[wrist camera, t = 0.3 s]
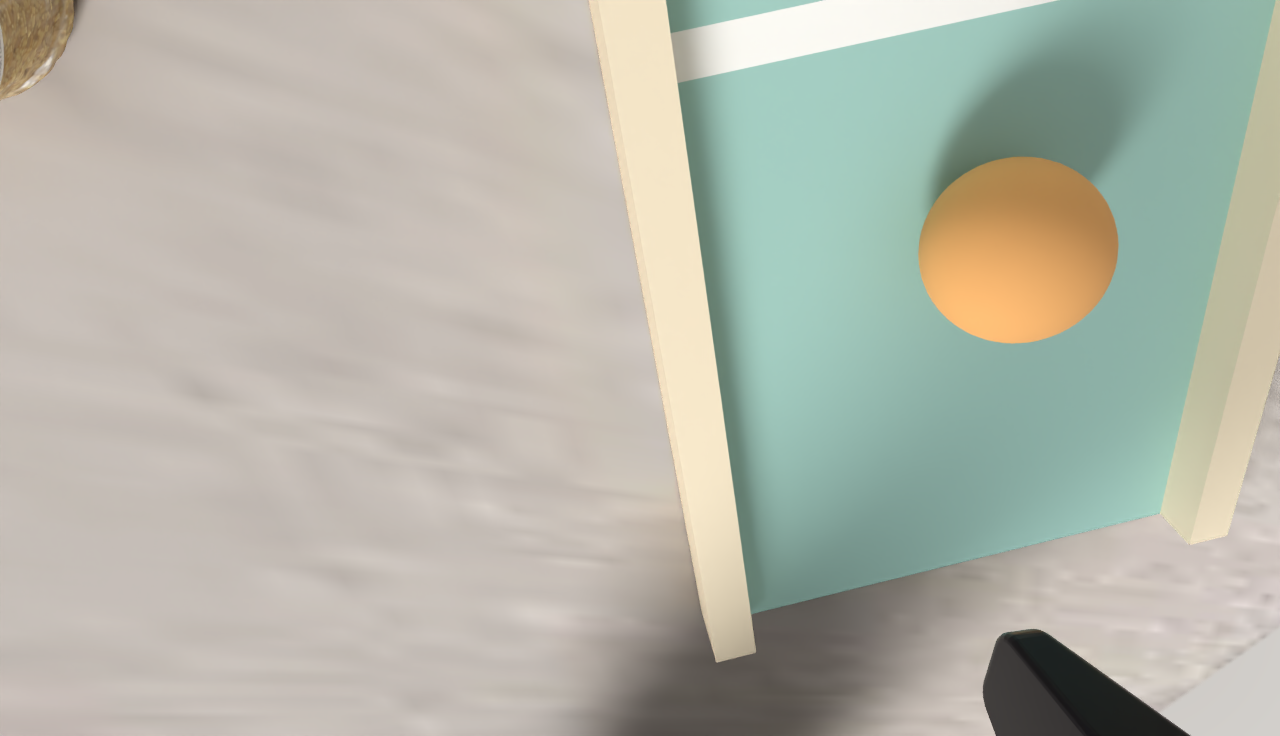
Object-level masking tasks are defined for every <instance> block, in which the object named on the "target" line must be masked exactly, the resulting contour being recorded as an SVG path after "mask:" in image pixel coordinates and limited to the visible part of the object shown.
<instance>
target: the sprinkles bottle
mask: <svg viewBox="0 0 1280 736" xmlns="http://www.w3.org/2000/svg"><path fill="white" fill-rule="evenodd" d="M73 19H74V8H73V0H0V100H2V99H5V98H8V97H11V96H15V95H18V94H20V93H22V92H24V91H25V90H27V89H29V88H31V87H32V86H33V85H35V84H36V83H37V82H39V81H40V80H41V79H43V78H44V77H45V76H46V75H47V74H48V73H49V72H50V71H51V70H52V68H53V67H54V65H55V62H56V61H57V60H58V59H59V58H60V57H61V55H62V54H63V52H64V50H65V47H66V43H67V39H68V37H69V35H70V33H71V31H72V28H73Z"/></svg>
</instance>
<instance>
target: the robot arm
mask: <svg viewBox="0 0 1280 736" xmlns="http://www.w3.org/2000/svg"><path fill="white" fill-rule="evenodd" d="M983 698H984V703H985V707H986V710H987V713H988V715H989V718H990V721H991V723H992V726H993V729H994V731H995V734H996V736H1190V735H1189V734H1187V733H1186V732H1185V731H1183V730H1182V729H1181V728H1179V727H1178V726H1176V725H1175V724H1173V723H1172V722H1171V721H1169V720H1168V719H1166V718H1165V717H1164V716H1162V715H1161V714H1160V713H1158V712H1157V711H1155V710H1154V709H1153V708H1151V707H1150V706H1148V705H1147V704H1146V703H1144V702H1143V701H1141V700H1140V699H1139V698H1137V697H1136V696H1134V695H1133V694H1132V693H1130V692H1129V691H1127V690H1126V689H1125V688H1123V687H1122V686H1120V685H1119V684H1118V683H1116V682H1115V681H1113V680H1112V679H1111V678H1109V677H1108V676H1106V675H1105V674H1104V673H1102V672H1101V671H1099V670H1098V669H1097V668H1095V667H1094V666H1092V665H1091V664H1090V663H1088V662H1087V661H1085V660H1084V659H1083V658H1081V657H1080V656H1078V655H1077V654H1076V653H1074V652H1073V651H1071V650H1070V649H1069V648H1067V647H1066V646H1064V645H1063V644H1062V643H1060V642H1059V641H1057V640H1056V639H1055V638H1053V637H1052V636H1050V635H1049V634H1047V633H1045V632H1043V631H1041V630H1037V629H1028V630H1021V631H1014V632H1007V633H1003V634H1002V635H1001V636H1000V637H999V638H998V639H997V641H996V644H995V647H994V650H993V653H992V657H991V660H990V663H989V666H988V670H987V673H986V676H985V680H984V684H983Z"/></svg>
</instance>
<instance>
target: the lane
mask: <svg viewBox="0 0 1280 736" xmlns="http://www.w3.org/2000/svg"><path fill="white" fill-rule="evenodd" d="M589 5H590V10H591V16H592V21H593V27H594V32H595V37H596V43H597V48H598V54H599V59H600V64H601V70H602V75H603V81H604V86H605V91H606V97H607V102H608V108H609V113H610V119H611V124H612V129H613V135H614V140H615V146H616V151H617V156H618V162H619V167H620V173H621V178H622V184H623V189H624V194H625V200H626V205H627V211H628V216H629V221H630V227H631V232H632V238H633V243H634V249H635V254H636V259H637V265H638V270H639V276H640V281H641V286H642V292H643V297H644V303H645V308H646V314H647V319H648V324H649V330H650V335H651V341H652V346H653V351H654V357H655V362H656V368H657V373H658V379H659V384H660V389H661V395H662V400H663V406H664V411H665V416H666V422H667V427H668V433H669V438H670V444H671V449H672V454H673V460H674V465H675V471H676V476H677V481H678V487H679V492H680V498H681V503H682V509H683V514H684V519H685V525H686V530H687V536H688V541H689V546H690V552H691V557H692V563H693V568H694V574H695V579H696V584H697V590H698V595H699V601H700V606H701V611H702V614H703V618H704V621H705V625H706V628H707V632H708V635H709V639H710V642H711V645H712V649H713V652H714V656H715V659H716V663H717V662H721V661H725V660H729V659H733V658H737V657H741V656H745V655H749V654H753V653H756V647H755V640H754V633H753V625H752V618H751V614H754V613H758V612H762V611H766V610H770V609H774V608H778V607H782V606H787V605H791V604H795V603H799V602H803V601H807V600H811V599H815V598H819V597H823V596H827V595H831V594H835V593H839V592H843V591H847V590H851V589H855V588H860V587H864V586H868V585H872V584H876V583H880V582H884V581H888V580H892V579H896V578H900V577H904V576H908V575H912V574H916V573H920V572H924V571H928V570H933V569H937V568H941V567H945V566H949V565H953V564H957V563H961V562H965V561H969V560H973V559H977V558H981V557H985V556H989V555H993V554H997V553H1001V552H1006V551H1010V550H1014V549H1018V548H1022V547H1026V546H1030V545H1034V544H1038V543H1042V542H1046V541H1050V540H1054V539H1058V538H1062V537H1066V536H1070V535H1075V534H1079V533H1083V532H1087V531H1091V530H1095V529H1099V528H1103V527H1107V526H1111V525H1115V524H1119V523H1123V522H1127V521H1131V520H1135V519H1139V518H1143V517H1148V516H1152V515H1156V514H1161V515H1162V516H1163V517H1164V518H1165V519H1166V521H1167V522H1168V523H1169V524H1170V525H1171V526H1172V527H1173V528H1174V529H1175V530H1176V531H1177V532H1178V533H1179V535H1180V536H1181V537H1182V538H1183V539H1184V540H1185V541H1186V542H1187V543H1188V544H1189V545H1192V544H1196V543H1200V542H1204V541H1208V540H1212V539H1216V538H1220V537H1224V536H1227V534H1228V531H1229V527H1230V524H1231V521H1232V517H1233V514H1234V510H1235V507H1236V503H1237V500H1238V496H1239V493H1240V489H1241V486H1242V482H1243V479H1244V476H1245V472H1246V469H1247V465H1248V462H1249V458H1250V455H1251V451H1252V448H1253V444H1254V441H1255V437H1256V434H1257V431H1258V427H1259V424H1260V420H1261V417H1262V413H1263V410H1264V406H1265V403H1266V399H1267V396H1268V392H1269V389H1270V386H1271V382H1272V379H1273V375H1274V372H1275V368H1276V365H1277V361H1278V358H1279V354H1280V0H589ZM1010 157H1037V158H1043V159H1047V160H1051V161H1054V162H1058V163H1061V164H1063V165H1065V166H1067V167H1069V168H1071V169H1073V170H1075V171H1077V172H1078V173H1080V174H1081V175H1082V176H1084V177H1085V178H1086V179H1087V180H1089V181H1090V182H1091V183H1092V184H1093V185H1094V186H1095V187H1096V188H1097V189H1098V191H1099V192H1100V193H1101V194H1102V196H1103V197H1104V199H1105V200H1106V202H1107V203H1108V205H1109V208H1110V210H1111V212H1112V214H1113V217H1114V219H1115V223H1116V228H1117V233H1118V244H1119V246H1118V258H1117V264H1116V269H1115V272H1114V275H1113V277H1112V280H1111V282H1110V284H1109V286H1108V289H1107V291H1106V292H1105V294H1104V295H1103V297H1102V299H1101V300H1100V301H1099V302H1098V304H1097V305H1096V306H1095V307H1094V308H1093V309H1092V311H1091V312H1090V313H1089V314H1087V315H1086V316H1085V317H1084V318H1083V319H1082V320H1080V321H1079V322H1078V323H1077V324H1075V325H1074V326H1072V327H1070V328H1069V329H1067V330H1065V331H1063V332H1061V333H1059V334H1057V335H1054V336H1052V337H1049V338H1046V339H1042V340H1039V341H1034V342H1029V343H1013V344H1012V343H1000V342H994V341H989V340H985V339H982V338H979V337H977V336H974V335H971V334H969V333H967V332H966V331H964V330H962V329H960V328H959V327H957V326H956V325H954V324H953V323H952V322H950V321H949V320H948V319H947V318H946V317H945V316H944V315H943V314H942V313H941V312H940V311H939V310H938V309H937V307H936V306H935V304H934V303H933V302H932V300H931V298H930V297H929V295H928V293H927V291H926V288H925V286H924V283H923V281H922V278H921V273H920V268H919V260H918V250H919V240H920V235H921V230H922V227H923V225H924V222H925V219H926V217H927V215H928V213H929V211H930V209H931V208H932V206H933V204H934V203H935V201H936V200H937V199H938V197H939V196H940V195H941V194H942V192H943V191H944V190H945V189H946V188H947V187H948V186H949V185H950V184H952V183H953V182H954V181H955V180H956V179H958V178H959V177H961V176H962V175H963V174H965V173H967V172H968V171H970V170H972V169H974V168H976V167H978V166H980V165H982V164H985V163H987V162H991V161H994V160H998V159H1003V158H1010Z"/></svg>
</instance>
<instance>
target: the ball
mask: <svg viewBox="0 0 1280 736" xmlns="http://www.w3.org/2000/svg"><path fill="white" fill-rule="evenodd" d="M1118 246H1119V244H1118V233H1117V228H1116V223H1115V219H1114V217H1113V214H1112V212H1111V210H1110V208H1109V205H1108V203H1107V202H1106V200H1105V199H1104V197H1103V196H1102V194H1101V193H1100V192H1099V191H1098V189H1097V188H1096V187H1095V186H1094V185H1093V184H1092V183H1091V182H1090V181H1089V180H1087V179H1086V178H1085V177H1084V176H1082V175H1081V174H1080V173H1078V172H1077V171H1075V170H1073V169H1071V168H1069V167H1067V166H1065V165H1063V164H1061V163H1058V162H1054V161H1051V160H1047V159H1043V158H1037V157H1010V158H1003V159H998V160H994V161H991V162H987V163H985V164H982V165H980V166H978V167H976V168H974V169H972V170H970V171H968V172H967V173H965V174H963V175H962V176H961V177H959V178H958V179H956V180H955V181H954V182H953V183H952V184H950V185H949V186H948V187H947V188H946V189H945V190H944V191H943V192H942V194H941V195H940V196H939V197H938V199H937V200H936V201H935V203H934V204H933V206H932V208H931V209H930V211H929V213H928V215H927V217H926V219H925V222H924V225H923V227H922V230H921V235H920V240H919V250H918V260H919V268H920V273H921V278H922V281H923V283H924V286H925V288H926V291H927V293H928V295H929V297H930V298H931V300H932V302H933V303H934V304H935V306H936V307H937V309H938V310H939V311H940V312H941V313H942V314H943V315H944V316H945V317H946V318H947V319H948V320H949V321H950V322H952V323H953V324H954V325H956V326H957V327H959V328H960V329H962V330H964V331H966V332H967V333H969V334H971V335H974V336H977V337H979V338H982V339H985V340H989V341H994V342H1000V343H1012V344H1013V343H1029V342H1034V341H1039V340H1042V339H1046V338H1049V337H1052V336H1054V335H1057V334H1059V333H1061V332H1063V331H1065V330H1067V329H1069V328H1070V327H1072V326H1074V325H1075V324H1077V323H1078V322H1079V321H1080V320H1082V319H1083V318H1084V317H1085V316H1086V315H1087V314H1089V313H1090V312H1091V311H1092V309H1093V308H1094V307H1095V306H1096V305H1097V304H1098V302H1099V301H1100V300H1101V299H1102V297H1103V295H1104V294H1105V292H1106V291H1107V289H1108V286H1109V284H1110V282H1111V280H1112V277H1113V275H1114V272H1115V269H1116V264H1117V258H1118Z"/></svg>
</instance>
